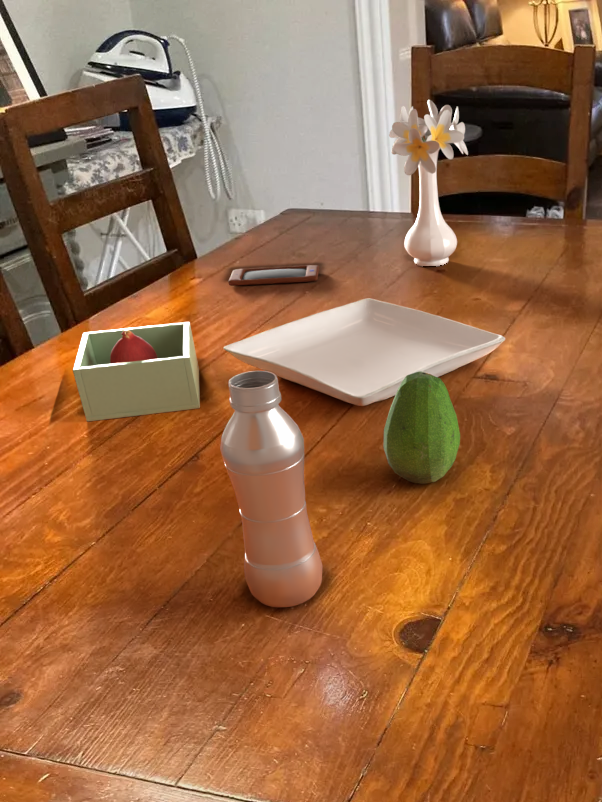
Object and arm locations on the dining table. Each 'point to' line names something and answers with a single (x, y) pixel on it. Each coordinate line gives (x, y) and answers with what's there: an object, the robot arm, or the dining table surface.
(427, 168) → the flower vase
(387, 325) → the square plate
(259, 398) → the plastic bottle
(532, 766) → the dining table surface
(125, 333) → the onion
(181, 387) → the veg bin
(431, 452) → the avocado
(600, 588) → the dining table surface
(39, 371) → the dining table surface
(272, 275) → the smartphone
